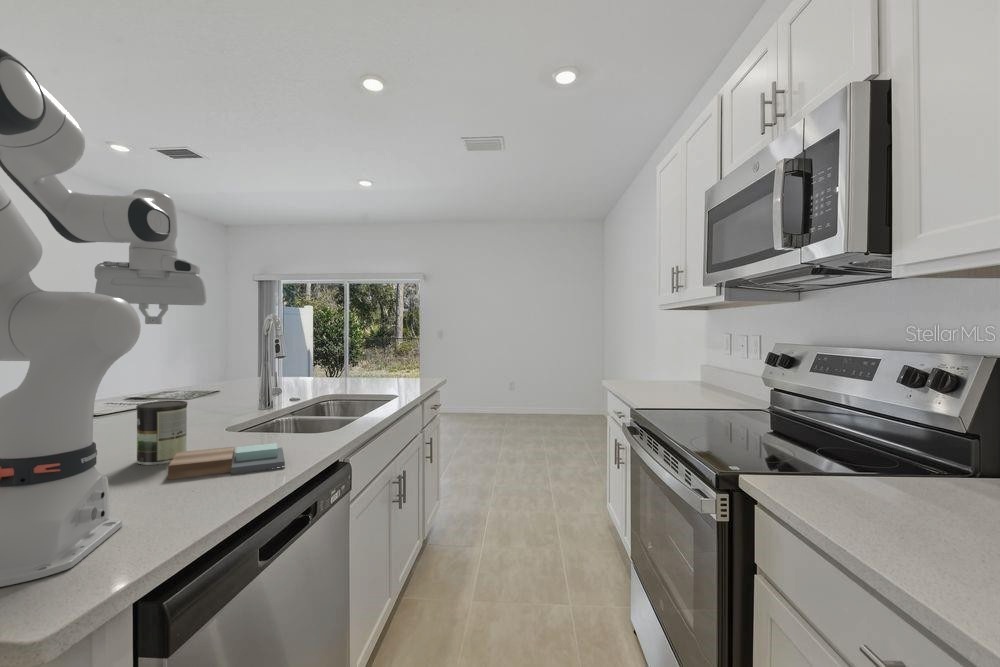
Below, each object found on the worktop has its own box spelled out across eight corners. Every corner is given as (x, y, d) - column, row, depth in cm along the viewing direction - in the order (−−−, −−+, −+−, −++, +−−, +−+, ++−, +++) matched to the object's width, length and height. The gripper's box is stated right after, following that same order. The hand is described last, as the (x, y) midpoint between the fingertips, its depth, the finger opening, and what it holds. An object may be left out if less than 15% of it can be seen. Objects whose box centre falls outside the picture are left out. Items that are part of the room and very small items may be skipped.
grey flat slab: (284, 467, 107) (284, 461, 107) (231, 474, 102) (231, 467, 102) (282, 453, 120) (282, 447, 120) (234, 458, 114) (234, 452, 114)
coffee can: (130, 467, 106) (130, 408, 106) (143, 456, 116) (143, 401, 115) (182, 462, 111) (182, 405, 110) (191, 451, 120) (191, 399, 120)
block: (277, 456, 111) (277, 448, 111) (235, 461, 107) (235, 453, 107) (276, 450, 116) (276, 443, 116) (236, 455, 112) (236, 447, 112)
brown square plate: (231, 471, 104) (231, 458, 104) (168, 479, 98) (168, 465, 98) (234, 458, 114) (234, 446, 114) (177, 464, 109) (177, 452, 109)
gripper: (89, 258, 95) (89, 323, 95) (204, 265, 105) (204, 324, 105) (99, 262, 101) (99, 323, 101) (207, 268, 110) (207, 324, 111)
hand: (153, 324), depth 103 cm, fingers closed
